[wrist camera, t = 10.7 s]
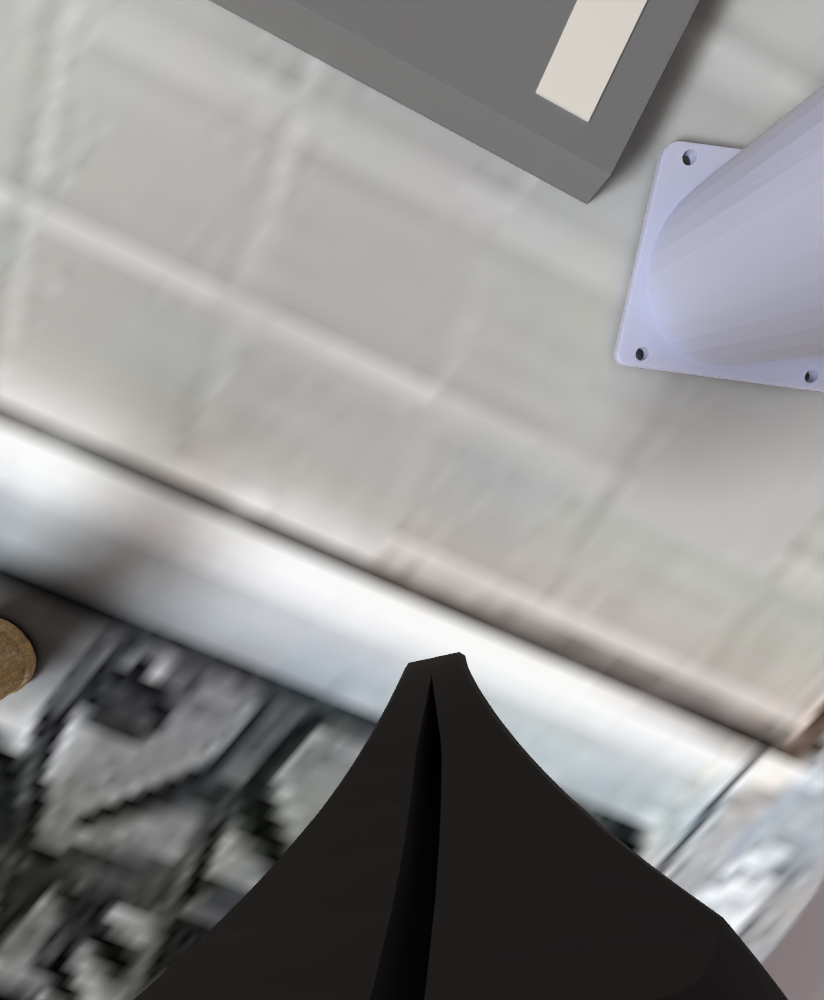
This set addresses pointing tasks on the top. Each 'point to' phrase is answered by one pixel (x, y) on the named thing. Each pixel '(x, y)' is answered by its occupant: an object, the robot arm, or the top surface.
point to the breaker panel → (500, 68)
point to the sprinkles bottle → (14, 659)
